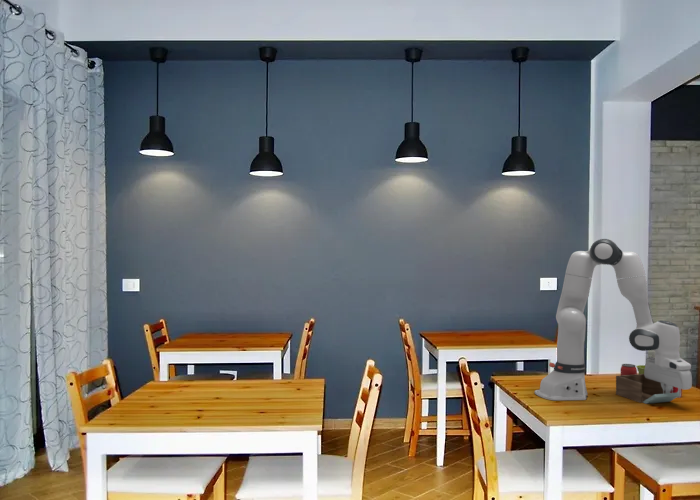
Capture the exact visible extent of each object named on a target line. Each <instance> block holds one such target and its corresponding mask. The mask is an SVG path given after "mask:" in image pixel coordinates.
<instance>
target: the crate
mask: <svg viewBox="0 0 700 500" xmlns="http://www.w3.org/2000/svg"><path fill="white" fill-rule="evenodd" d="M654 394H663V389H662V387H661V383H660V382H657V381H654V380H650V379H647V378H645V376H644V374H639V373H637V374H634V375H621V374H620V375H615V395H616V396H620V397H623V398H626V399H628V400H631V401H634V402H637V403H639V404H641V403H642V402H643V401H645V400H646V399H648V398H650V397H651V396H653V395H654ZM642 404H643V403H642Z"/></svg>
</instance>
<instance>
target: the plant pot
mask: <svg viewBox="0 0 700 500" xmlns="http://www.w3.org/2000/svg"><path fill="white" fill-rule="evenodd" d="M635 367H636V369H637V373H638V374H644V370H645V365H644V364H642V365H641V364H639V365H635Z"/></svg>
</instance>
